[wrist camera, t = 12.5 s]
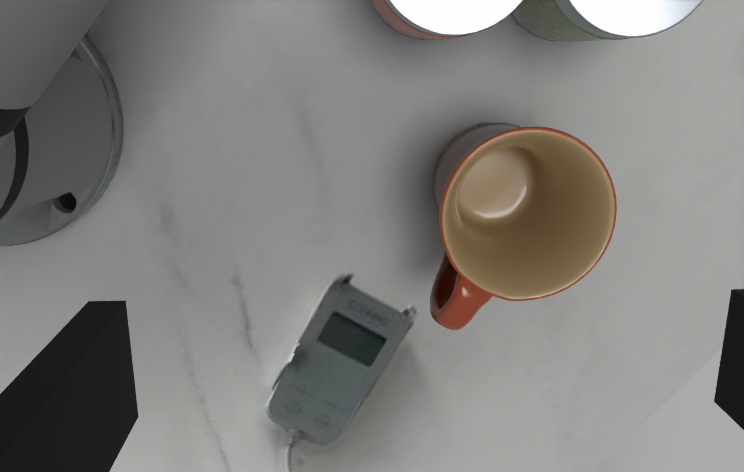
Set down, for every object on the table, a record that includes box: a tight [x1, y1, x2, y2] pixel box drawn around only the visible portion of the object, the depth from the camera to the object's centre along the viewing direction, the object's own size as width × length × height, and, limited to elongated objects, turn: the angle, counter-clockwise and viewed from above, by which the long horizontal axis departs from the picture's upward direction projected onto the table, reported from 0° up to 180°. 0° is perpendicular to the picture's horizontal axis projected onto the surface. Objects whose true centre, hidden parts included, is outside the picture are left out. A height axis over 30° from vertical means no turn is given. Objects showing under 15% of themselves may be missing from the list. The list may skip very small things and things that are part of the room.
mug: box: [430, 123, 617, 330], centre depth 38 cm, size 12×9×10 cm
